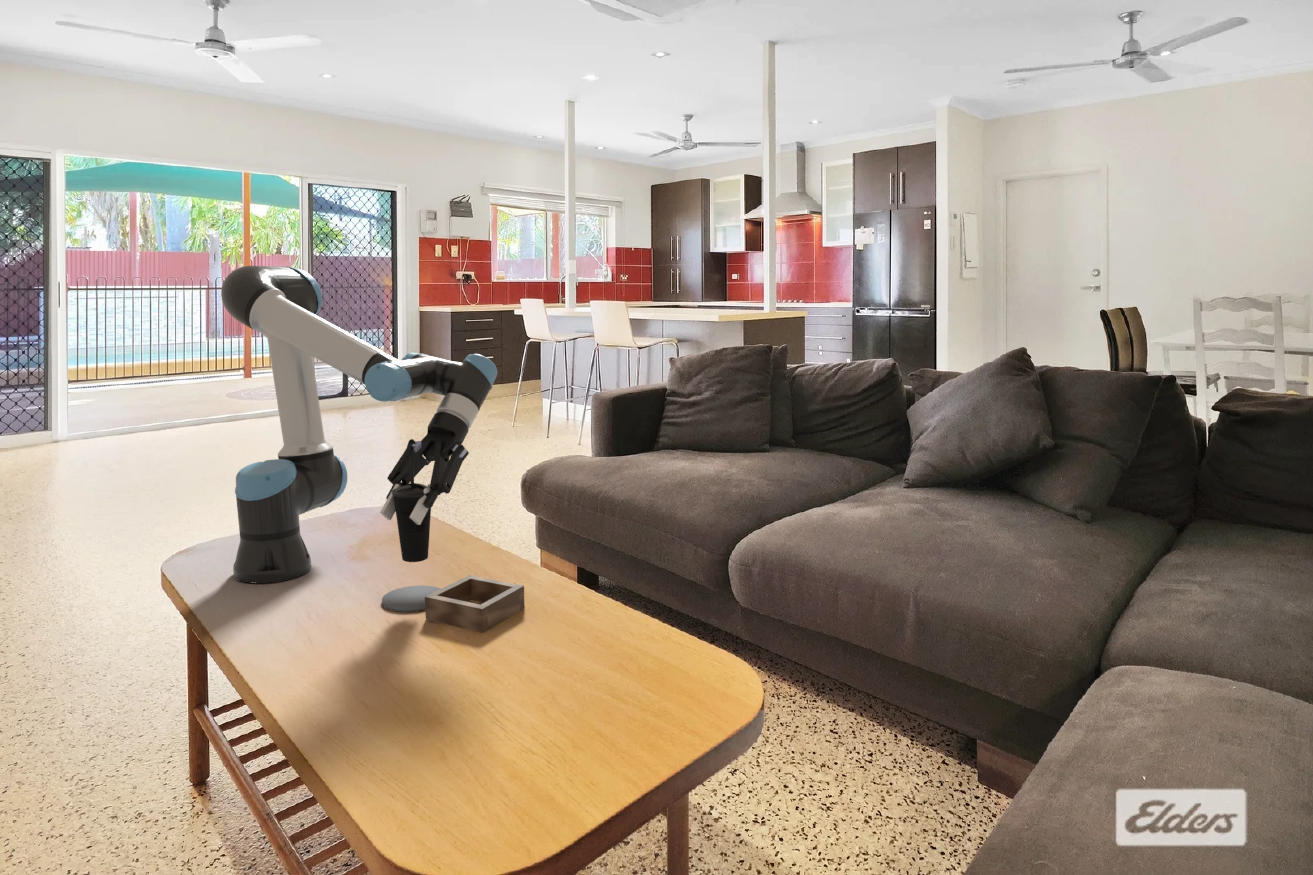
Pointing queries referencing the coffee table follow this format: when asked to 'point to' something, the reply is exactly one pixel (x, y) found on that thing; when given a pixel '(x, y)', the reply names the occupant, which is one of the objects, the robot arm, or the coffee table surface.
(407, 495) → the drinking cup
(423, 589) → the coaster
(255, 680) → the coffee table surface
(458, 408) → the robot arm
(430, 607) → the wooden square tray
